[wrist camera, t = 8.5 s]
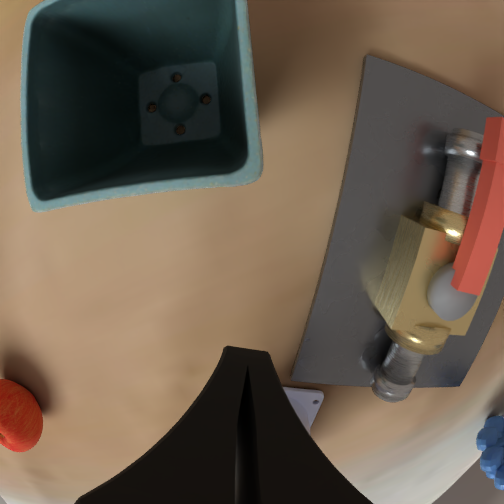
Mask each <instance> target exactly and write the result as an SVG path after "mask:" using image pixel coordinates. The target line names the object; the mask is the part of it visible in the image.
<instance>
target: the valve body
mask: <svg viewBox="0 0 504 504" xmlns="http://www.w3.org/2000/svg"><path fill="white" fill-rule="evenodd" d="M487 117H503V118H504V116H503V115H501V114H500V113H498V112H496V111H495V110H493V109H491V108H489V107H488V106H486V105H484V104H482V103H480V102H478V101H477V100H475V99H473V98H471V97H469V96H467V95H465V94H463V93H461V92H459V91H457V90H455V89H453V88H451V87H449V86H447V85H445V84H442V83H440V82H438V81H436V80H434V79H431V78H429V77H427V76H424V75H422V74H419V73H417V72H415V71H412V70H410V69H407V68H404V67H402V66H399V65H396V64H394V63H391V62H388V61H385V60H382V59H379V58H376V57H373V56H370V55H366V56H364V60H363V67H362V74H361V81H360V87H359V94H358V100H357V106H356V112H355V118H354V123H353V129H352V134H351V140H350V145H349V150H348V155H347V160H346V165H345V170H344V175H343V180H342V185H341V189H340V194H339V198H338V203H337V207H336V212H335V216H334V220H333V225H332V229H331V233H330V237H329V241H328V245H327V249H326V253H325V257H324V261H323V265H322V269H321V273H320V276H319V280H318V284H317V287H316V291H315V295H314V298H313V302H312V306H311V309H310V313H309V316H308V319H307V323H306V326H305V330H304V333H303V336H302V340H301V343H300V346H299V350H298V353H297V356H296V359H295V362H294V366H293V369H292V372H291V375H290V377H291V381H299V382H308V383H319V384H332V385H346V386H364V387H372V390H373V392H374V394H375V395H376V396H377V397H379V398H380V399H382V400H384V401H387V402H398V401H402V400H404V399H406V398H407V397H408V396H409V394H410V392H411V390H412V389H413V388H423V387H456V386H460V384H461V383H462V381H463V379H464V378H465V376H466V374H467V372H468V371H469V369H470V367H471V365H472V363H473V361H474V360H475V358H476V356H477V354H478V352H479V350H480V348H481V346H482V344H483V342H484V340H485V338H486V336H487V334H488V331H489V329H490V327H491V325H492V323H493V320H494V318H495V316H496V314H497V311H498V309H499V307H500V304H501V302H502V299H503V297H504V228H503V232H502V235H501V238H500V241H499V244H498V247H497V250H496V253H495V256H494V259H493V262H492V265H491V267H490V270H489V273H488V275H487V278H486V280H485V283H484V285H483V288H482V290H481V293H480V295H479V296H477V299H476V301H475V303H474V305H473V306H472V308H471V309H470V310H469V311H468V312H467V313H466V314H465V315H464V316H462V317H461V318H459V319H457V320H453V321H446V320H443V319H441V318H440V317H439V316H438V315H437V314H436V313H435V312H434V311H433V310H432V309H431V307H430V306H429V304H428V301H427V290H428V286H429V283H430V281H431V279H432V277H433V276H434V274H435V273H436V272H437V271H438V270H439V269H440V268H441V267H442V266H444V265H446V264H448V263H451V262H454V261H455V258H456V255H457V253H458V250H459V247H460V244H461V241H462V238H463V235H464V231H465V228H466V225H467V222H468V218H469V215H470V211H471V208H472V204H473V200H474V197H475V193H476V189H477V185H478V181H479V176H480V172H481V167H482V162H483V160H481V159H479V158H480V153H481V148H482V143H483V137H484V131H485V124H486V118H487Z"/></svg>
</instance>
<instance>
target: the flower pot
mask: <svg viewBox="0 0 504 504" xmlns="http://www.w3.org/2000/svg"><path fill="white" fill-rule="evenodd" d="M21 63H22V65H21V89H20V91H21V98H20V101H21V141H22V142H21V147H22V157H23V167H24V177H25V185H26V193H27V196H28V200H29V203H30V206H31V208H32V210H33V211H34V212H45V211H50V210H54V209H60V208H64V207H69V206H75V205H80V204H85V203H90V202H95V201H101V200H107V199H114V198H121V197H129V196H136V195H144V194H151V193H160V192H167V191H177V190H187V189H199V188H214V187H235V186H240V185H247V184H250V183H253V182H255V181H257V180H258V179H259V178H260V176H261V174H262V171H263V150H262V142H261V136H260V124H259V113H258V105H257V96H256V87H255V86H256V83H255V74H254V65H253V57H252V44H251V34H250V24H249V15H248V4H247V0H44V1H42V2H41V3H39V4H38V5H36V6H35V7H33V8H32V9H31V10H30V11H29V13H28V16H27V19H26V23H25V28H24V34H23V45H22V61H21ZM175 75H180V76H181V80H179V81H178V82H174V81H173V77H174V76H175ZM204 96H209V97H210V102H209V103H208V104H204V103H203V102H202V98H203V97H204ZM150 104H155V105H156V110H155V111H154V112H149V111H148V107H149V105H150ZM178 126H183V127H184V128H185V132H184V133H183V134H178V133H177V132H176V129H177V127H178Z"/></svg>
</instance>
